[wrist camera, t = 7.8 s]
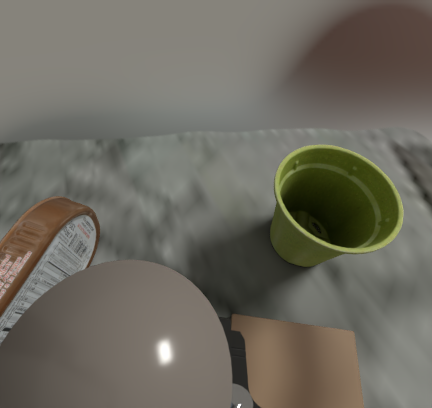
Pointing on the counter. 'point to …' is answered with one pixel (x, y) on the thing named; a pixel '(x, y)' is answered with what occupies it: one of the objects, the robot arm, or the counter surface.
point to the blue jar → (117, 344)
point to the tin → (43, 253)
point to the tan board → (299, 364)
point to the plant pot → (332, 206)
